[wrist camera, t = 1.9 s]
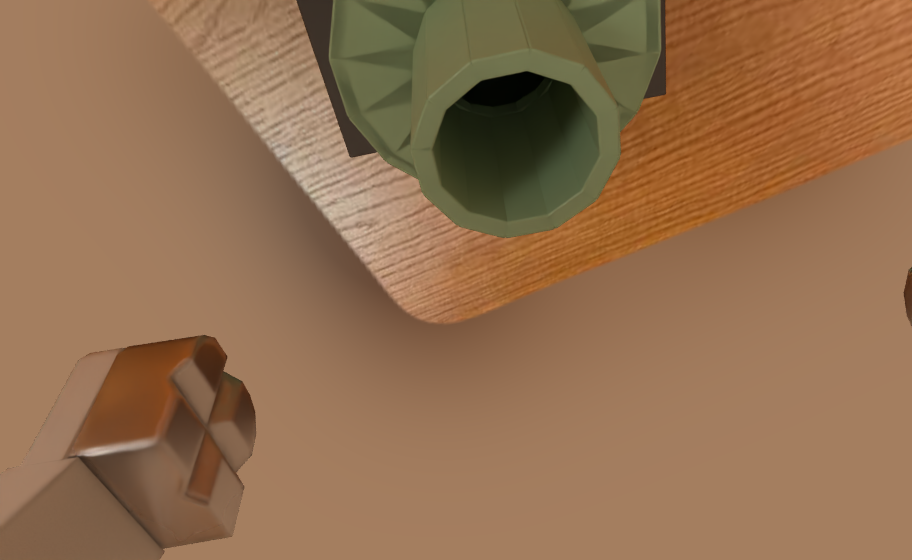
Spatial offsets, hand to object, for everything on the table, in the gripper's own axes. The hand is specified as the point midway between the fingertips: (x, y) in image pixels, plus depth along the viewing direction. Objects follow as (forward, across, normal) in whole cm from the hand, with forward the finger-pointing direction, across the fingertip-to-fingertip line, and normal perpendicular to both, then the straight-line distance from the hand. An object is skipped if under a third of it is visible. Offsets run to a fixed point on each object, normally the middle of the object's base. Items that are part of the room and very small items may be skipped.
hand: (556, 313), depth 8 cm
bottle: (+21, 0, 0) cm, 21 cm away
